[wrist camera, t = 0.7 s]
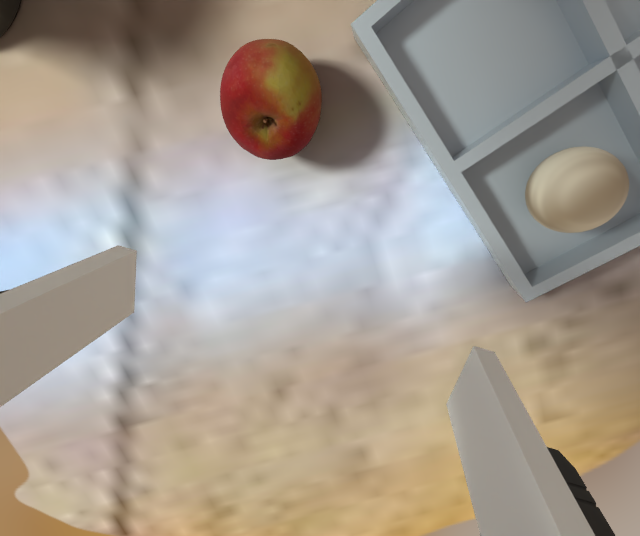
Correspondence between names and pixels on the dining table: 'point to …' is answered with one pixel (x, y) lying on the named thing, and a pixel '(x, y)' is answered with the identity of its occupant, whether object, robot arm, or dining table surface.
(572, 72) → the tray
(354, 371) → the dining table surface
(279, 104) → the apple
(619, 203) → the wooden ball
